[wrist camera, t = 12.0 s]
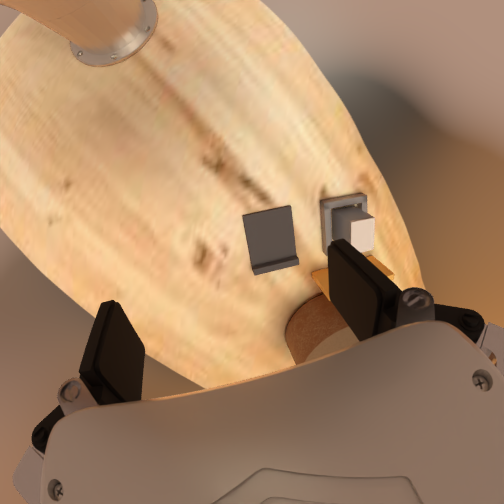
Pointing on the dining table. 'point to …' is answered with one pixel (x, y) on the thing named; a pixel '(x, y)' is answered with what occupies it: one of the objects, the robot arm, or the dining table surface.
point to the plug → (354, 227)
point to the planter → (317, 331)
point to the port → (325, 207)
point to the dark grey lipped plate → (271, 239)
